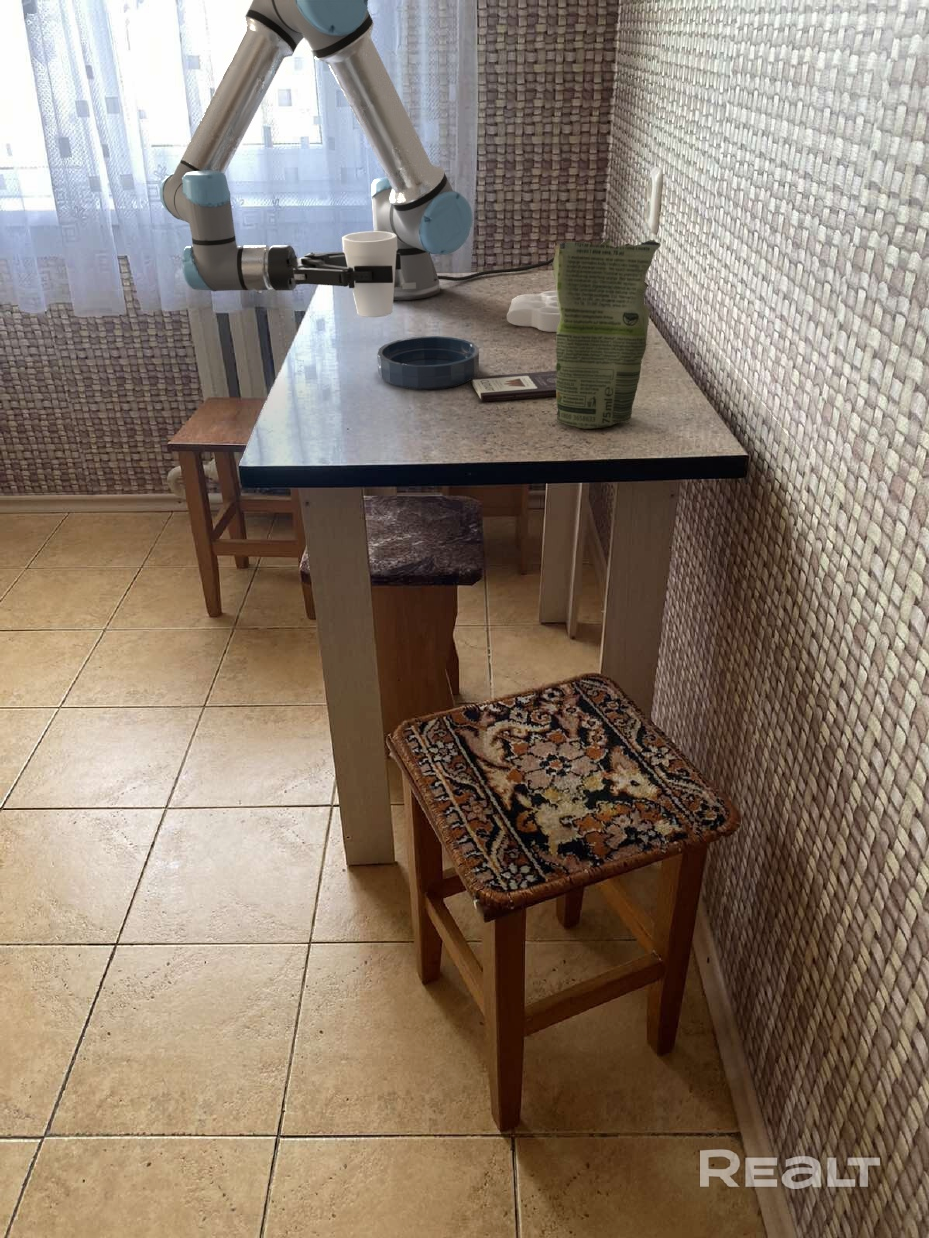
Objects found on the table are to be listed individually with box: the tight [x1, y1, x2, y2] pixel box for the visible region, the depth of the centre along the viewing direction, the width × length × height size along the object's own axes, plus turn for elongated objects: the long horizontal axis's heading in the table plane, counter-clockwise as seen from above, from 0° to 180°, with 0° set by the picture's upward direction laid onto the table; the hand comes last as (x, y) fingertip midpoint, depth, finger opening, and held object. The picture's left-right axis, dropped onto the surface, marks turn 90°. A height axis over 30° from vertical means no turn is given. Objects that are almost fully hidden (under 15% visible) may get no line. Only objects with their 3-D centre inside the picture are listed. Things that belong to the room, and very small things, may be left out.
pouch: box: [551, 237, 661, 430], centre depth 131 cm, size 11×12×25 cm
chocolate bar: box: [470, 370, 557, 403], centre depth 149 cm, size 9×1×18 cm
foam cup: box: [341, 230, 398, 318], centre depth 167 cm, size 10×9×13 cm
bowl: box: [376, 335, 480, 390], centre depth 155 cm, size 17×17×4 cm
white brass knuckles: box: [506, 289, 560, 333], centre depth 183 cm, size 3×18×15 cm
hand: (396, 267), depth 166 cm, fingers closed on foam cup, 9 cm apart
